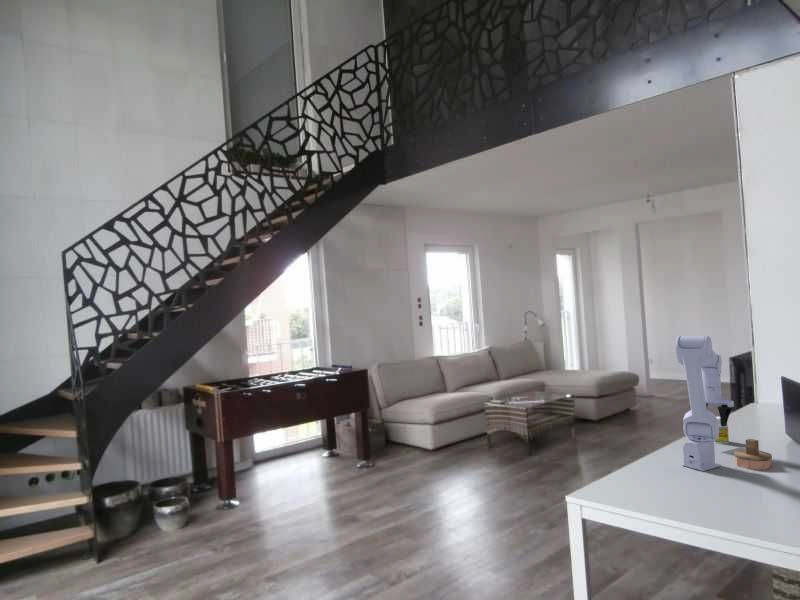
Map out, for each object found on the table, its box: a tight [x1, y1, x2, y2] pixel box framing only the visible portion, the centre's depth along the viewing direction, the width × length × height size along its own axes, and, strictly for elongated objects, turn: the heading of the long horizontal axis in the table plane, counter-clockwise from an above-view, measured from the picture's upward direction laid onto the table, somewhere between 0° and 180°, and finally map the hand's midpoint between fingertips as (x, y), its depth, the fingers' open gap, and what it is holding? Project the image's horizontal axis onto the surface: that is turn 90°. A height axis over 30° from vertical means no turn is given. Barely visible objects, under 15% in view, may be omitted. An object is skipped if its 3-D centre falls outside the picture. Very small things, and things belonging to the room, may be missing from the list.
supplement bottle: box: [714, 416, 730, 445], centre depth 213 cm, size 5×5×10 cm
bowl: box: [733, 455, 772, 471], centre depth 184 cm, size 10×10×3 cm
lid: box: [733, 438, 773, 461], centre depth 184 cm, size 11×11×5 cm
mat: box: [720, 446, 746, 456], centre depth 197 cm, size 11×11×1 cm
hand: (713, 424), depth 202 cm, fingers open, 7 cm apart
